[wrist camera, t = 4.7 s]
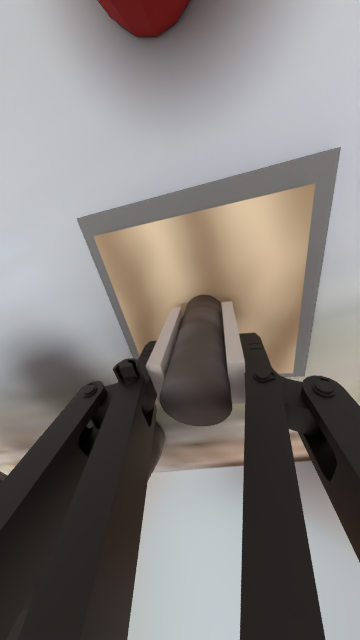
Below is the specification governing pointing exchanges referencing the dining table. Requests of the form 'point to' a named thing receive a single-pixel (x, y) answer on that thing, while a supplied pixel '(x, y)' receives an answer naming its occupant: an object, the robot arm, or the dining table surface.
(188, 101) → the dining table surface
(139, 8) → the plastic cup
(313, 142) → the dining table surface
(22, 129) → the dining table surface
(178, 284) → the lid
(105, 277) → the mat
